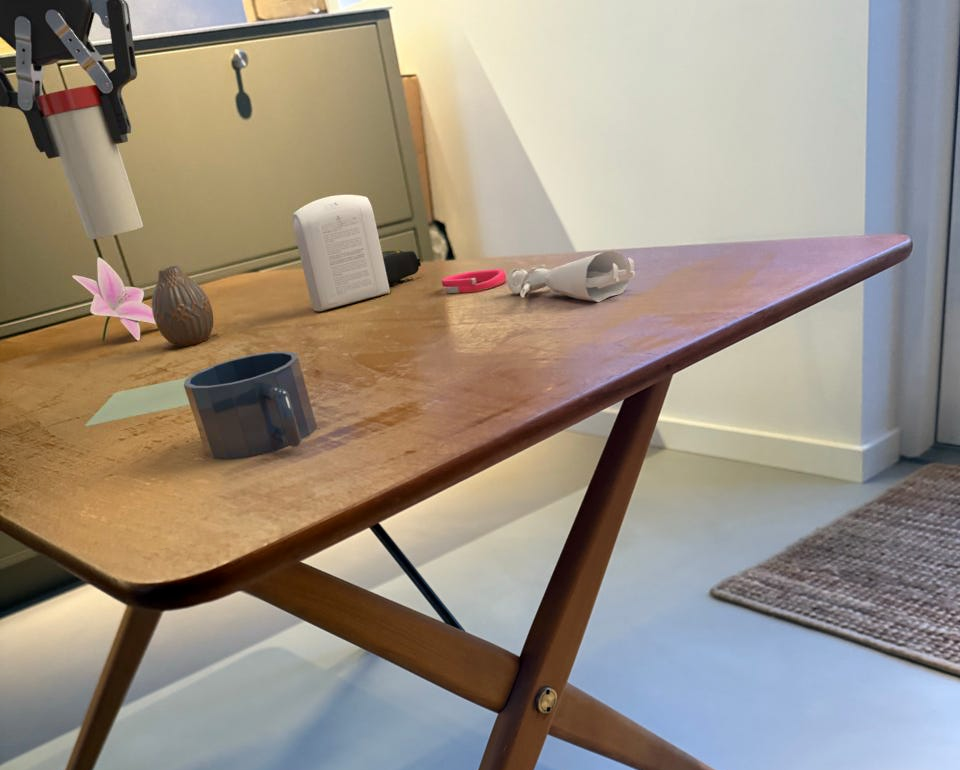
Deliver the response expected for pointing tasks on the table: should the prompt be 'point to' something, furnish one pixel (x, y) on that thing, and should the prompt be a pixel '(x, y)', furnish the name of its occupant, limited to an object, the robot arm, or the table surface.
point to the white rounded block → (340, 251)
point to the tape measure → (400, 265)
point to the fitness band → (473, 280)
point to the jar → (91, 161)
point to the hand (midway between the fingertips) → (87, 149)
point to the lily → (116, 299)
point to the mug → (251, 405)
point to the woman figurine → (578, 277)
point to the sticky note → (142, 401)
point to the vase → (181, 308)
